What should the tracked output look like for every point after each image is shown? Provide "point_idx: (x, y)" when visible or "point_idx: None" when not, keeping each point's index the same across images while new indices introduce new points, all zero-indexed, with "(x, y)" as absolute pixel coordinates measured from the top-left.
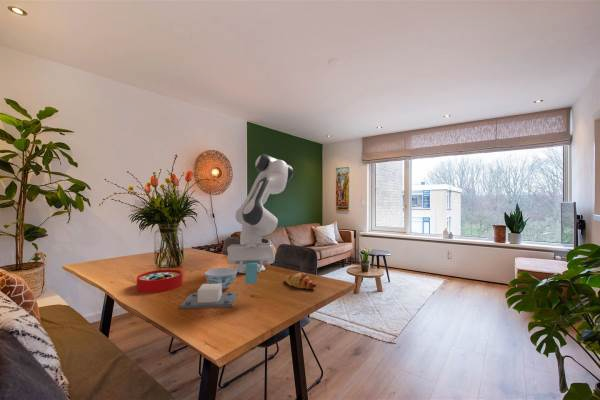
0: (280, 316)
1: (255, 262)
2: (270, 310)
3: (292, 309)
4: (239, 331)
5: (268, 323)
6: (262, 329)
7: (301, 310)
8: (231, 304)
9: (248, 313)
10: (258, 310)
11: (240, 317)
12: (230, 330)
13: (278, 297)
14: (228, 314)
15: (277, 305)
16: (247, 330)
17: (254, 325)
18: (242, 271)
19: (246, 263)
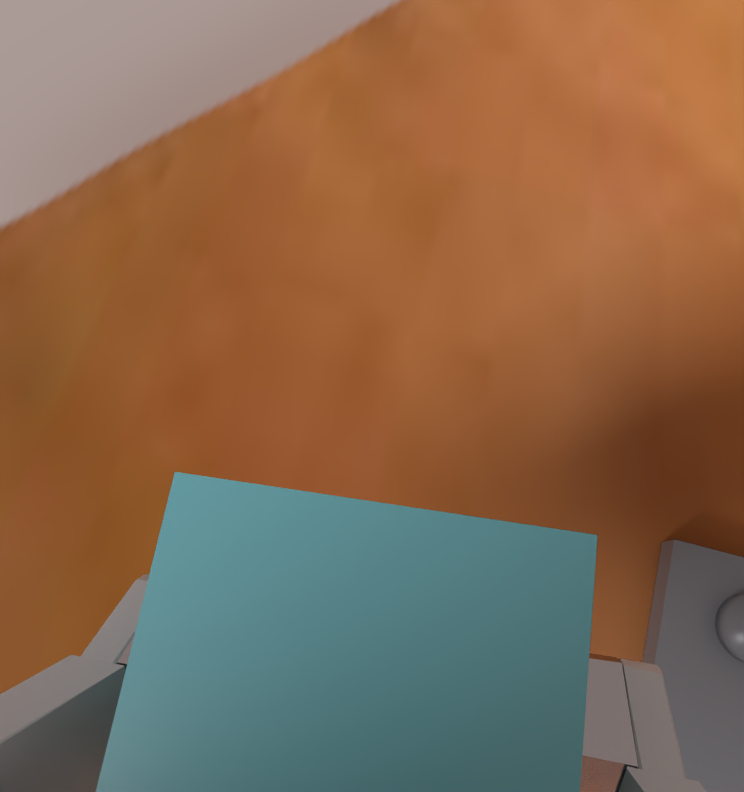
0: (232, 170)
1: (161, 770)
2: (273, 313)
3: (75, 272)
4: (607, 25)
5: (364, 84)
6: (432, 13)
7: (15, 229)
8: (680, 542)
9: (495, 311)
10: (385, 349)
11: (582, 249)
12: (678, 53)
13: (61, 648)
14: (701, 349)
15: (166, 410)
16: (545, 25)
17: (479, 81)
18: (649, 671)
19: (571, 696)
